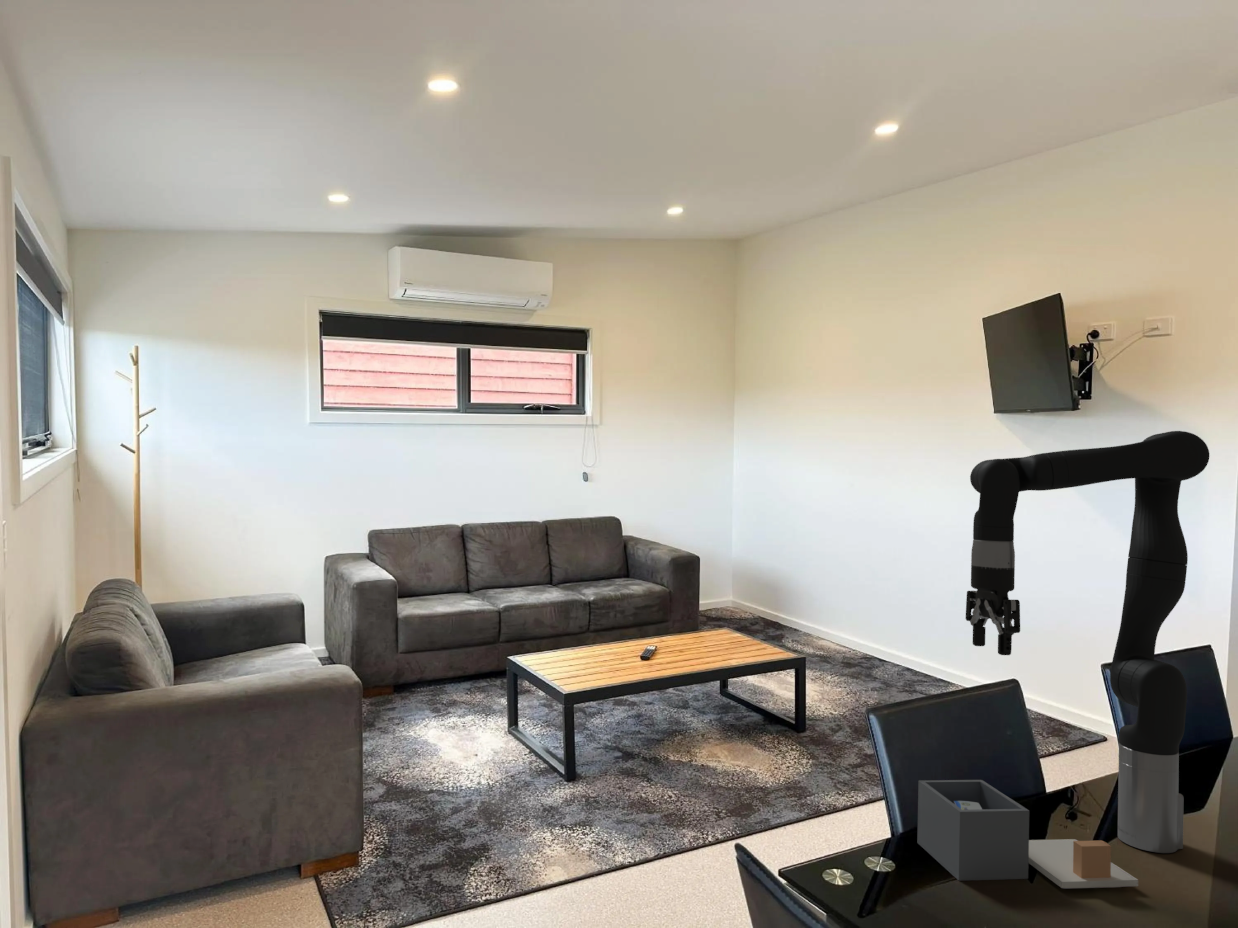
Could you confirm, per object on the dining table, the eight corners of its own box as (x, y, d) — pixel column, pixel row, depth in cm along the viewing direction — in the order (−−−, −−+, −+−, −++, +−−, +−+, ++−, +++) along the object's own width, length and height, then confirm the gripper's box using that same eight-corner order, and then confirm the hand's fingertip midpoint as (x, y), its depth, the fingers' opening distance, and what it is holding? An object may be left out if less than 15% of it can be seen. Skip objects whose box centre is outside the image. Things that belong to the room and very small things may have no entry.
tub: (980, 841, 148) (981, 779, 148) (1028, 878, 134) (1029, 810, 134) (917, 842, 146) (918, 780, 146) (958, 880, 132) (960, 811, 133)
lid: (1075, 851, 145) (1075, 810, 145) (1138, 893, 130) (1138, 847, 131) (1006, 853, 144) (1007, 811, 144) (1061, 895, 129) (1062, 849, 129)
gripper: (1034, 568, 149) (1033, 658, 148) (990, 561, 163) (988, 643, 162) (995, 567, 148) (994, 658, 147) (954, 560, 162) (952, 642, 162)
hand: (991, 650), depth 155 cm, fingers open, 8 cm apart
